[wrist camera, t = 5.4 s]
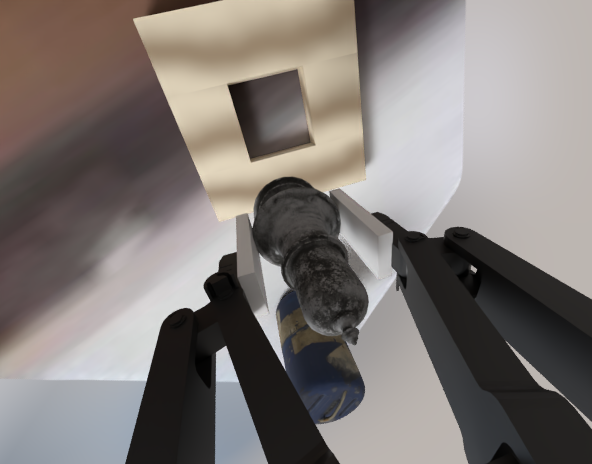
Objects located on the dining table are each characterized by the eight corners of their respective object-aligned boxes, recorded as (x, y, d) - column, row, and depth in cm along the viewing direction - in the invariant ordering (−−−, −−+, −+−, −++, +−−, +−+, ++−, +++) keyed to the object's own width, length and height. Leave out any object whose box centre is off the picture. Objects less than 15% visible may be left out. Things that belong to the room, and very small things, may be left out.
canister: (335, 298, 44) (388, 401, 29) (301, 330, 46) (333, 443, 31) (299, 275, 40) (338, 382, 25) (263, 311, 42) (278, 432, 27)
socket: (143, 27, 22) (132, 18, 20) (341, -15, 24) (352, -27, 22) (220, 214, 32) (219, 221, 30) (357, 175, 34) (366, 179, 32)
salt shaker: (321, 166, 17) (448, 256, 7) (325, 234, 20) (418, 369, 10) (241, 179, 17) (253, 304, 6) (257, 249, 20) (283, 412, 9)
